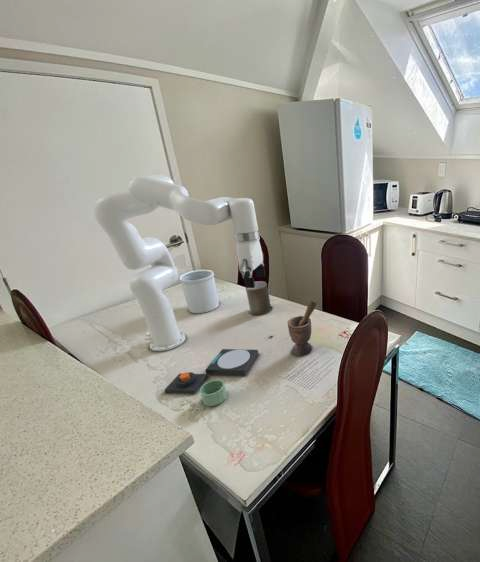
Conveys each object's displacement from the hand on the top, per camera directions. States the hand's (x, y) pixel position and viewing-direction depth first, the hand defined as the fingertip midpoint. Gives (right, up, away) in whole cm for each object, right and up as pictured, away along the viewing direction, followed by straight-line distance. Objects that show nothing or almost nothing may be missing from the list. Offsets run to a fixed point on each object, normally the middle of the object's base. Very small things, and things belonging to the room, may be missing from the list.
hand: (255, 281), depth 112 cm
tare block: (-21, -35, -7) cm, 41 cm away
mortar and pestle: (+15, -27, +11) cm, 33 cm away
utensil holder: (-43, -13, +45) cm, 63 cm away
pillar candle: (-13, -14, +40) cm, 45 cm away
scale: (-9, -31, +2) cm, 32 cm away
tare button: (-21, -33, -8) cm, 39 cm away
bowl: (-8, -37, -13) cm, 40 cm away
